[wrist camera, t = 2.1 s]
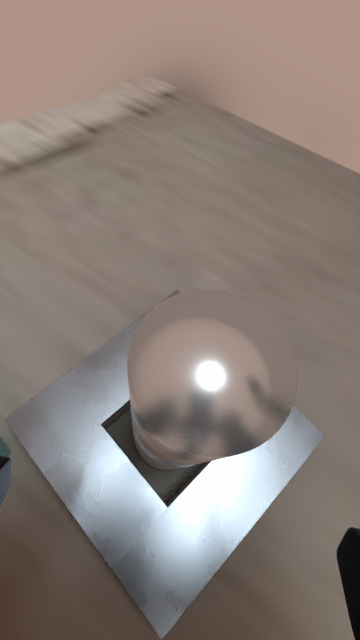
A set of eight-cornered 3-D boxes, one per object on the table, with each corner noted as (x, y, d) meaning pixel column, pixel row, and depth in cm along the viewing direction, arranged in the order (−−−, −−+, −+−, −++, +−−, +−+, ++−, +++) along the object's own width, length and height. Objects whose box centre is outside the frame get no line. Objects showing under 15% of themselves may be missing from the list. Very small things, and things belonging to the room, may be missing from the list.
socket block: (158, 621, 16) (162, 639, 14) (17, 425, 19) (4, 419, 17) (308, 439, 20) (324, 436, 18) (174, 304, 23) (177, 289, 21)
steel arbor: (165, 487, 18) (215, 502, 7) (119, 430, 19) (90, 355, 7) (215, 435, 20) (330, 372, 8) (170, 384, 21) (213, 263, 9)
